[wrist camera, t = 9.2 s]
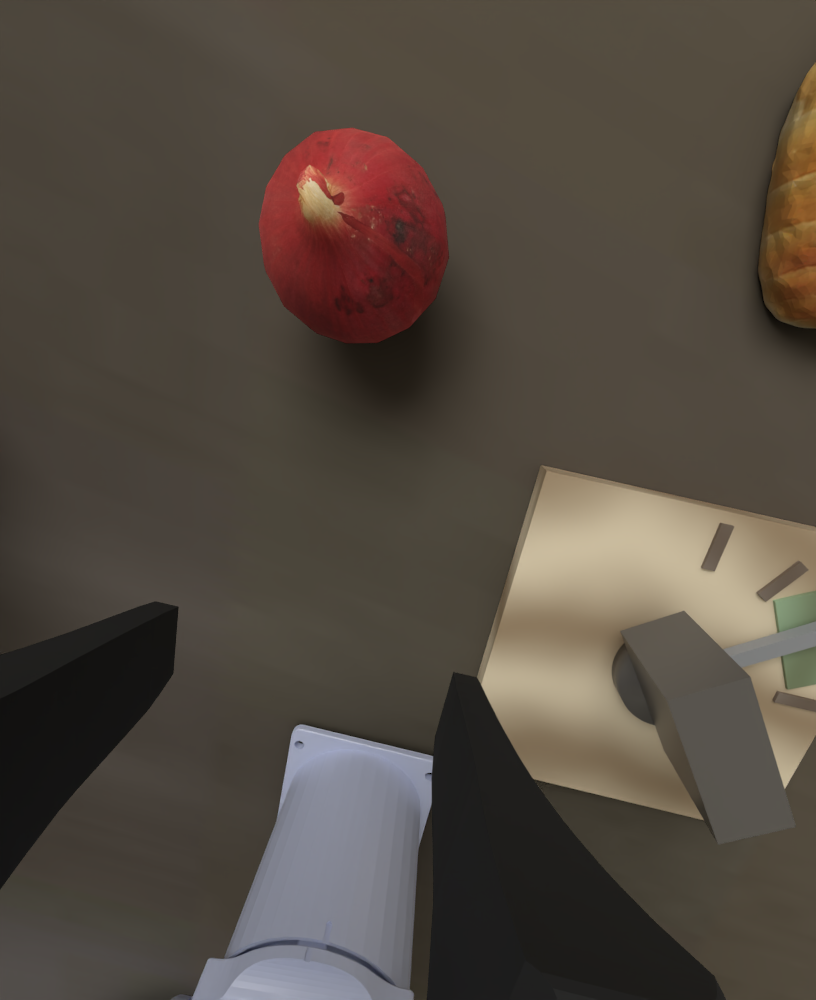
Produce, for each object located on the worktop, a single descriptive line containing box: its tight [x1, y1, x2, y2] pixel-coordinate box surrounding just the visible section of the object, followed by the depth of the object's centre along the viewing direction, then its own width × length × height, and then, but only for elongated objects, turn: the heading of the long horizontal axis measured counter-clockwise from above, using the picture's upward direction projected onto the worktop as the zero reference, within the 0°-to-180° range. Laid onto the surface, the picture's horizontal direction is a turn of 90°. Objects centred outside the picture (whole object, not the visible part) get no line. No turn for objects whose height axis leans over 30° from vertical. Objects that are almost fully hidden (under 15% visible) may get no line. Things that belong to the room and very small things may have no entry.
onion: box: [259, 128, 449, 343], centre depth 14 cm, size 6×6×8 cm
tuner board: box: [477, 465, 816, 820], centre depth 21 cm, size 15×15×1 cm
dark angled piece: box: [612, 611, 816, 844], centre depth 17 cm, size 10×6×5 cm, turn 114°
